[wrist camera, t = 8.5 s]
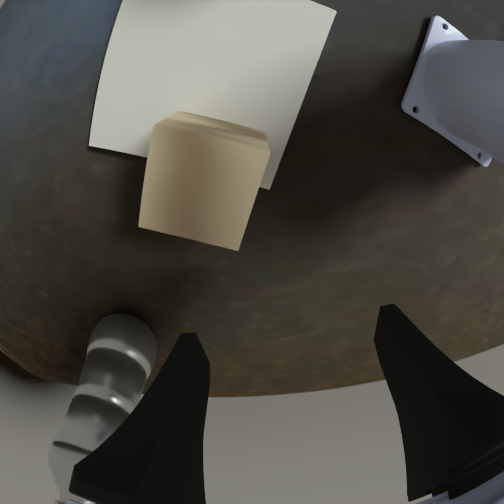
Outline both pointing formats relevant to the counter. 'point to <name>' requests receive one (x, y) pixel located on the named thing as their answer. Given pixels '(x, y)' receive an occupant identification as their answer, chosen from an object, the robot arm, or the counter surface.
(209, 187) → the cube
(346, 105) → the counter surface
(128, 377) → the plastic bottle
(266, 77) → the plate
